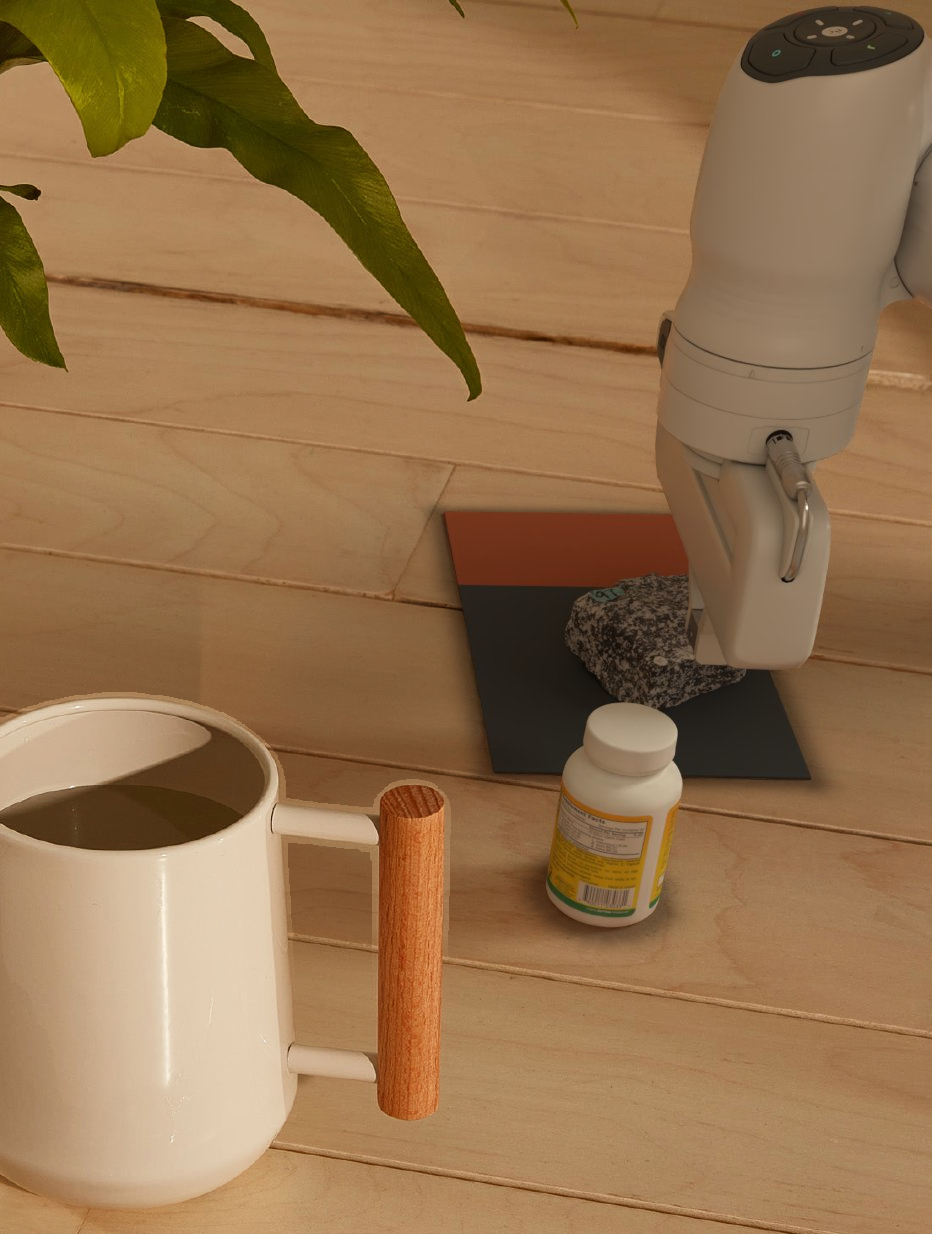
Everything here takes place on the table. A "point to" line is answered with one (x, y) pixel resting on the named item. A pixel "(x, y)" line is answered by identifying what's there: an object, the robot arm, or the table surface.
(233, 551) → the table surface
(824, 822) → the table surface
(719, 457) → the robot arm
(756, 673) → the mat
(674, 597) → the rock
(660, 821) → the supplement bottle
